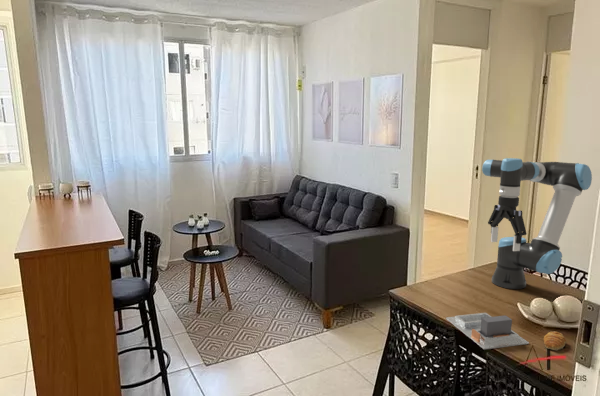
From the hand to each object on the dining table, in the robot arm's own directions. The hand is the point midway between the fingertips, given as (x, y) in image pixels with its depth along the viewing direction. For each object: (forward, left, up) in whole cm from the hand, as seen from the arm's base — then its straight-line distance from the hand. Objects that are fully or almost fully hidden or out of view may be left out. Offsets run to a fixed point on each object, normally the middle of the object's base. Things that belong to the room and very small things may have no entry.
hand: (504, 246), depth 177 cm
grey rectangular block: (+20, +24, -26) cm, 41 cm away
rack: (+20, +18, -27) cm, 38 cm away
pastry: (+2, +32, -27) cm, 42 cm away
